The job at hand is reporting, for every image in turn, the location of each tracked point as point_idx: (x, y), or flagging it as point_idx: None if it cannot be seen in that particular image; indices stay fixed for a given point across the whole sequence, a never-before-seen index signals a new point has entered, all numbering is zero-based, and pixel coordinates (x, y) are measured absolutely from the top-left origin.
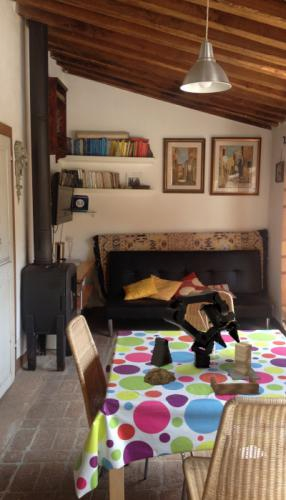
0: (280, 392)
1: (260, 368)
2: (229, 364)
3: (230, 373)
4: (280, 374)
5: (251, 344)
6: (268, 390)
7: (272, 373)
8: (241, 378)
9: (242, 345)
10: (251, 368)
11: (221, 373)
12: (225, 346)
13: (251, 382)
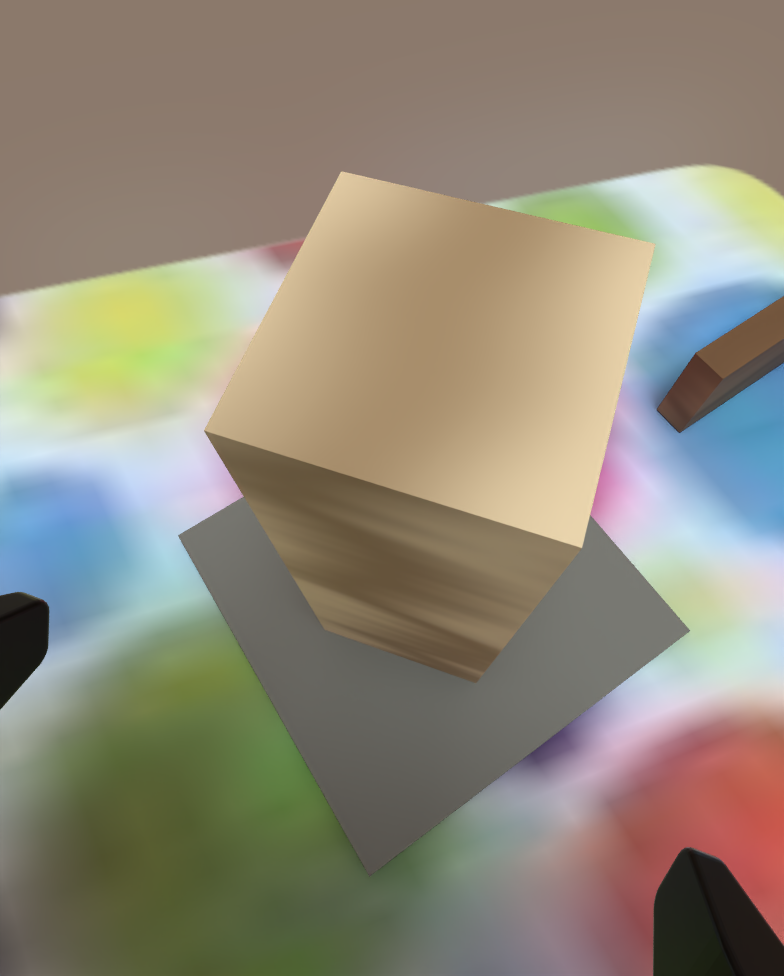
0: (657, 177)
1: (128, 459)
2: (128, 898)
3: (528, 727)
4: (227, 260)
5: (350, 175)
6: (688, 255)
7: (233, 322)
8: (603, 539)
9: (588, 314)
10: (201, 536)
11: (570, 871)
12: (735, 900)
13: (772, 355)
